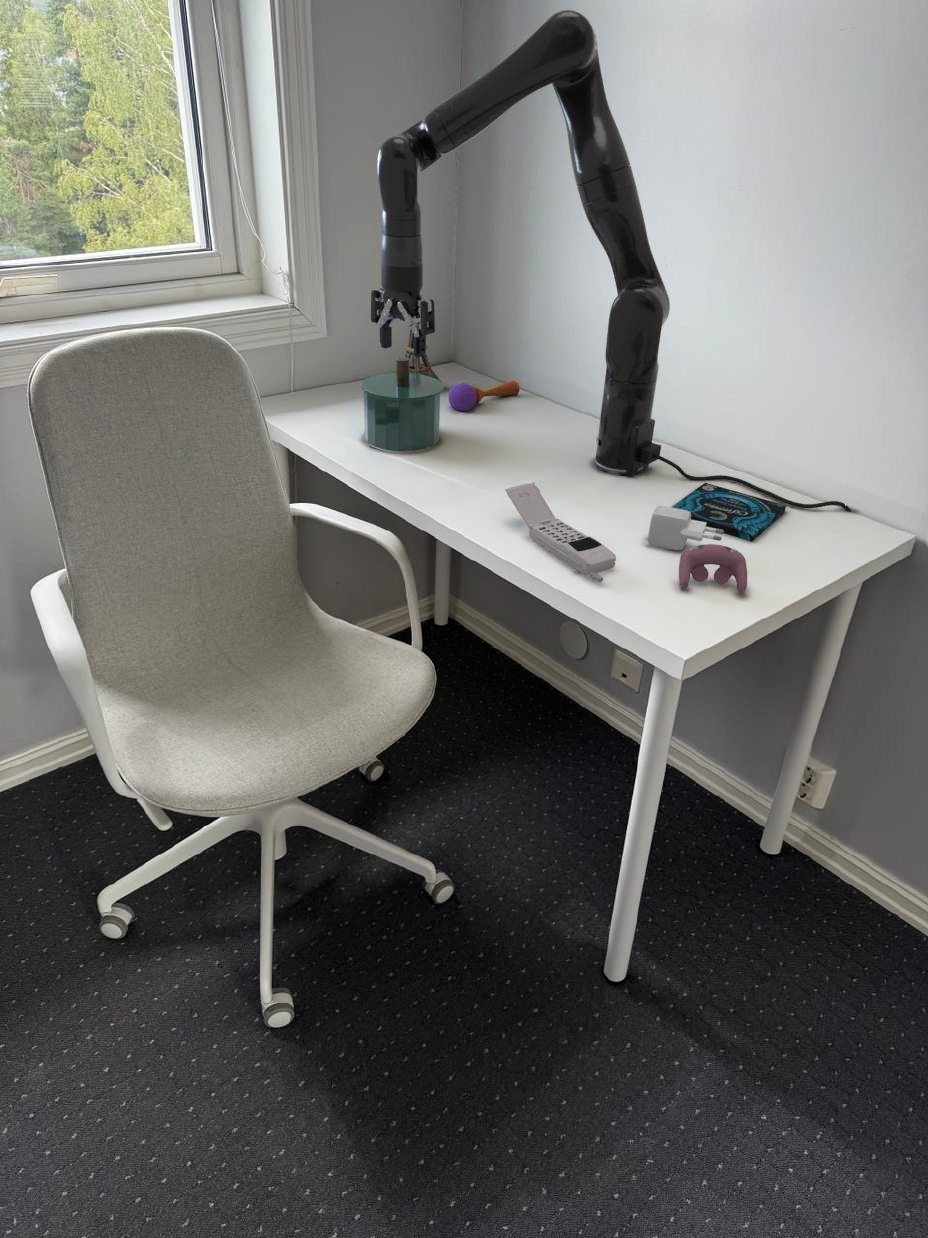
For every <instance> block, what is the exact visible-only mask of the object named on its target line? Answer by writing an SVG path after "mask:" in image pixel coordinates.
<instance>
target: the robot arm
mask: <svg viewBox="0 0 928 1238" xmlns="http://www.w3.org/2000/svg"><path fill="white" fill-rule="evenodd" d="M598 49H599V48H598V40H597V35H596V33H595V30H594V28H593V25H592V24H591V22H590V21H589V19H588V18H587V17H586V16H585V15H583V14H582V13H581V12H578V11H576V10H570V9H565V10H560V11H557V12H555V13H554V14H552V15H551V16H550V17H548V18H547V19H546V21H545V22H543V24H541V25H540V26H539V28H537V30H535V32H533V34H531V35H530V37H528V38H527V39H526V40H525V41H524V42H523V43H522V44H521V45H520V46H518V48H517V49H515V50H514V51H513V52H512V53H511V54H510V55H508V56H507V57H506V58H505V59H503V60H502V61H501V62H500V63H499V64H497V65H496V66H494V67H493V68H491V69H490V70H489V71H487V72H486V73H485V74H482V75H481V76H480V77H478V78H477V79H475V80H474V81H472V82H470V83H469V84H468V85H466V86H465V87H463V88H462V89H460V90H458V91H457V92H456V93H454V94H453V95H451V96H449V97H448V98H447V99H445V100H444V101H442V102H441V103H440V104H438V105H436V106H435V107H433V109H431V110H430V111H429V112H428V113H427V114H426V115H425V116H424V118H422V119H421V120H419V121H418V122H416V123H415V124H413V125H411V126H409V128H407V129H405V130H404V131H402V132H400V133H398V134H396V135H394V136H391V137H388V138H386V140H384V141H383V142H382V144H381V145H380V147H379V149H378V152H377V157H376V158H377V159H376V170H377V181H378V189H379V197H380V201H381V240H380V285H381V288H376V289H372V290H371V292H370V322H371V323H372V324H373V323H375V324H376V325H377V327H378V328H379V343H380V348H382V349H384V350H385V349H390V348H392V346H393V341H392V340H393V338H392V337H393V336H392V335H393V334H392V333H393V331H392V326H391V325H392V323H393V322H394V320H398V319H399V321H401V322H402V321H403V322H405V323H406V325H407V326H408V327H409V328H410V327H411V329H412V331H413V333H414V335H415V337H414V356H415V357H420V358H422V357H421V356H424V353H425V352H426V353H427V349H426V345H427V336H428V335H432V334H435V332H436V319H435V301H434V299H432V298H430V299H423V300H421V297H422V296H421V297H420V295H421V291H422V289H423V287H424V245H423V233H422V232H423V231H422V230H423V228H422V227H423V226H422V221H423V219H422V218H423V217H422V216H423V215H422V205H421V202H420V201H419V192H418V190H419V189H418V188H419V187H418V183H419V182H418V181H419V179H418V176H419V175H420V174H422V172H425V170H427V169H428V168H429V167H431V166H432V165H433V164H435V163H436V162H437V161H439V160H440V159H441V158H442V157H444V156H445V155H448V154H450V153H451V152H454V151H456V150H457V149H459V148H460V147H462V146H463V145H465V144H467V142H469V141H471V140H472V139H475V137H477V136H478V135H480V134H481V133H482V132H484V131H485V130H486V129H488V128H489V127H490V126H491V125H492V124H494V123H495V122H496V121H497V120H498V119H499V118H501V117H502V116H503V115H504V114H505V113H507V112H508V111H509V110H511V108H513V107H514V106H515V105H516V104H518V103H519V102H521V101H522V100H524V99H525V98H526V97H528V96H530V95H531V94H533V93H535V92H537V91H539V90H541V89H543V88H545V87H547V86H550V85H552V88H553V90H554V93H555V96H556V98H557V100H558V104H559V107H560V109H561V112H562V114H563V118H564V121H565V127H566V132H567V140H568V147H569V148H568V149H569V155H570V161H571V167H572V171H573V176H574V180H575V185H576V187H577V191H578V195H579V199H580V201H581V205H582V208H583V211H584V214H585V216H586V219H587V221H588V223H589V225H590V227H591V229H592V231H593V233H594V234H595V236H596V238H597V239H598V241H599V243H600V245H601V246H602V248H603V250H604V252H605V254H606V256H607V258H608V261H609V264H610V266H611V270H612V274H613V278H614V282H615V287H616V293H617V295H616V297H615V298H614V300H613V301H612V304H611V307H610V312H609V317H608V322H607V332H606V333H607V334H606V344H605V364H606V365H605V366H606V368H605V375H604V385H603V392H602V401H601V408H600V409H601V410H600V417H599V418H600V419H599V424H598V425H599V426H598V434H597V436H596V439H595V442H596V451H595V457H594V465H595V467H596V468H597V469H599V470H600V471H603V472H606V473H608V474H614V475H621V476H622V475H623V476H628V477H633V476H635V475H637V474H639V473H641V472H643V471H645V470H647V469H648V468H649V465H650V464H652V463H654V462H655V461H658V460H659V461H661V462H663V463H665V464H667V465H669V466H671V467H672V468H674V469H675V470H676V471H678V472H679V474H680V475H681V476H682V477H684V478H685V479H688V480H691V481H695V482H696V481H699V482H700V481H701V482H702V481H714V480H727V481H731V482H736V483H738V484H741V485H744V486H745V487H747V488H750V489H752V490H754V491H756V492H759V493H761V494H763V495H766V496H768V497H770V498H773V499H775V500H777V501H780V502H781V503H782V504H783V503H784V504H785V505H789V506H792V507H797V508H801V509H817V508H822V507H829V506H839V507H841V508H842V509H844V511H846V512H849V513H852V512H853V511H852V509H851V508H850V507H849V506H848V505H847V504H846V503H844V502H842V501H838V500H830V501H829V500H827V501H823V502H818V503H807V504H806V503H802V502H796V501H793V500H789V499H787V498H784V497H782V496H780V495H778V494H776V493H774V492H772V491H769V490H766V489H764V488H762V487H759V486H757V485H755V484H753V483H751V482H748V481H746V480H744V479H742V478H738V477H735V476H731V475H721V474H718V475H708V476H707V475H706V476H694V475H690V474H688V473H686V472H685V471H684V470H683V469H682V468H681V467H680V466H679V465H678V464H677V463H675V462H673V461H672V460H669V459H668V458H666V457H664V456H662V455H661V451H662V445H661V444H658V443H655V442H653V437H654V432H655V426H656V419H654V418H652V414H653V407H654V402H655V396H656V395H655V394H656V388H657V382H658V375H659V369H660V368H659V367H660V365H659V349H660V343H661V336H662V328H663V326H664V325H665V323H666V322H667V320H668V317H669V315H670V309H671V302H670V301H671V300H670V297H669V294H668V291H667V289H666V286H665V284H664V281H663V279H662V276H661V274H660V271H659V268H658V265H657V263H656V260H655V257H654V254H653V252H652V249H651V245H650V241H649V238H648V232H647V227H646V224H645V223H646V222H645V218H644V213H643V209H642V204H641V200H640V196H639V191H638V187H637V184H636V179H635V176H634V172H633V168H632V165H631V162H630V158H629V155H628V152H627V149H626V147H625V143H624V141H623V138H622V135H621V133H620V130H619V128H618V126H617V123H616V121H615V118H614V116H613V113H612V111H611V108H610V105H609V102H608V99H607V95H606V90H605V86H604V80H603V79H604V78H603V75H602V74H603V73H602V70H601V69H602V68H601V63H600V56H599V50H598ZM419 308H420V309H419ZM415 316H416V319H413V318H414V317H415ZM417 325H418V327H419V329H420V330H419V329H418V327H417ZM845 504H846V506H845Z"/></svg>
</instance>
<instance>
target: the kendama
mask: <svg viewBox="0 0 928 1238" xmlns="http://www.w3.org/2000/svg"><path fill="white" fill-rule="evenodd" d="M520 389H521V388H520V384H519V382H517V381H516V380H511V381H507V382H505V383H503V384H499V385H497V386H494V387H491V388H489V389H486V390H482V389H480V388H479V387H477V386H474V385H470V384H468V383H465V382H462V383H457V384H455V385H454V386H453V387H452V388H450V390H449V392H448V402H449V405H450V406H451V408H452V409H453V410H455V411H457V412H468V411H470V410H472V408H474V407H475V406H477V405H478V404H479V403H480V402H481V401H482V399H484V398H485V397H509V396H518V394H519V393H520Z"/></svg>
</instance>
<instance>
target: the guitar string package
mask: <svg viewBox="0 0 928 1238" xmlns="http://www.w3.org/2000/svg"><path fill="white" fill-rule="evenodd" d="M671 507H672V508H678V509H683V510H687V511H689V512H691V520H696V521H701V522H706V527H710V528H715V529H722V530H724V533H723V534H726V535H729V536H732V537H735V538H738V539H742V540H745V541H749V542H751V543H752V542H754V541H755V540H756V539H757V538H758V537H760V535H761V534H763V533H764V532H765V531H766V530H767V529H768V528H769V527H771V525H772V524H773V523H774V522H776V521H777V520H778V519H779V518H780V517H781V516H782V515H784V513H785V512H786V508H787V504H783V503H779V502H775V501H772V500H768V499H765V498H761V497H758V496H754V495H750V494H747V493H745V492H740V491H737V490H733V489H729V488H726V487H724V486H718V485H715V484H712V483H708V482H704V483H702V484H701V485H700V486H699V487H697V488H695V489H694V490H693V491H692V492H690V493H689V494H687V495H686V496H684V497H683V498H682V499H680V500H679V501H678V502H675V504H673V505H672V506H671Z"/></svg>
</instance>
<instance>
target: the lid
mask: <svg viewBox="0 0 928 1238" xmlns="http://www.w3.org/2000/svg"><path fill="white" fill-rule="evenodd" d="M410 362H411V358H410V359H409V358H407V357H405V356H400V357H396V358H395V372H390V373H381V374H376V375H372V376H370V377H367V378H365V379H363V381H362V382H361V386H360V387H361V391H362V392H363V393H364V392H365V393H366V394H368V395H370V396H373V397H376V398H380V399H386V400H394V401H417V400H424V399H429V398H433V397H436V396H438V395H440V396H441V395H442V394H443V392H444V391H445V389H444V386H445V385H444V383H443V382H442V381H441V380H440V381H439V380H437V379H435V378H432V377H429V376H425V375H420V374H412V373H410Z"/></svg>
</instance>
